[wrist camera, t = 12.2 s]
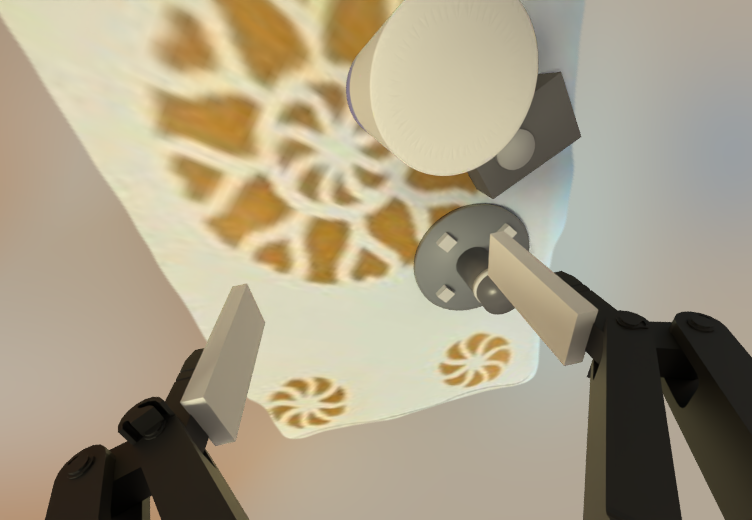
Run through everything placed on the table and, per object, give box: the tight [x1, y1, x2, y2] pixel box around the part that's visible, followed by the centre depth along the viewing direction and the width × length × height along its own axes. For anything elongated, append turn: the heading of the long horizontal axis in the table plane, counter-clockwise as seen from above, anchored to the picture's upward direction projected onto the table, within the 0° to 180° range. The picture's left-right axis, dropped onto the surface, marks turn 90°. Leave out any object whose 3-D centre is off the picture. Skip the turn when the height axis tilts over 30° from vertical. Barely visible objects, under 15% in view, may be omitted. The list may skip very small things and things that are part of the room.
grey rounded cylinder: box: [456, 247, 515, 314], centre depth 42 cm, size 6×6×9 cm
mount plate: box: [414, 204, 529, 310], centre depth 46 cm, size 18×18×2 cm
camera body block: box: [467, 72, 581, 199], centre depth 37 cm, size 12×8×6 cm, turn 126°
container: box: [346, 0, 538, 176], centre depth 26 cm, size 10×10×20 cm
